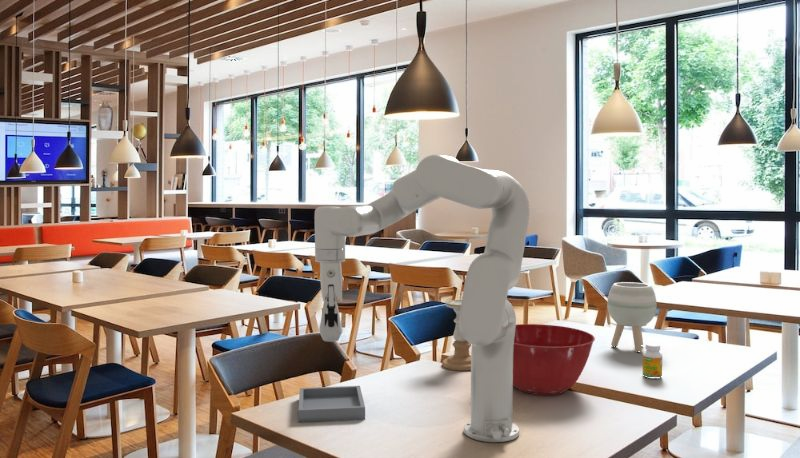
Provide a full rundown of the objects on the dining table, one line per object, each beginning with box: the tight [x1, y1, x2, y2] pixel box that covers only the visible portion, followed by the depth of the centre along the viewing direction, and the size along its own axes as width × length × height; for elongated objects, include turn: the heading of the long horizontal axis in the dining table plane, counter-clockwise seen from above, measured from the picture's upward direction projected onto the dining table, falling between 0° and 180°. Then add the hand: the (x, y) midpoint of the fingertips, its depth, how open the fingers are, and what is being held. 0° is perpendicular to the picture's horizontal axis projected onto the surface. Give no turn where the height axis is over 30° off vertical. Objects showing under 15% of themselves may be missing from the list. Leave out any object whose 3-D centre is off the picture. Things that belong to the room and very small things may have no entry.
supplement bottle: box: [642, 342, 663, 377], centre depth 201 cm, size 5×5×10 cm
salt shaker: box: [318, 288, 343, 342], centre depth 172 cm, size 6×6×13 cm
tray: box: [298, 385, 366, 423], centre depth 173 cm, size 18×16×3 cm
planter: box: [606, 281, 658, 352], centre depth 236 cm, size 16×16×22 cm
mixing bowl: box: [513, 323, 596, 396], centre depth 190 cm, size 28×28×16 cm
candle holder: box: [441, 299, 472, 372], centre depth 214 cm, size 12×12×20 cm
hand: (331, 327), depth 172 cm, fingers closed on salt shaker, 3 cm apart
